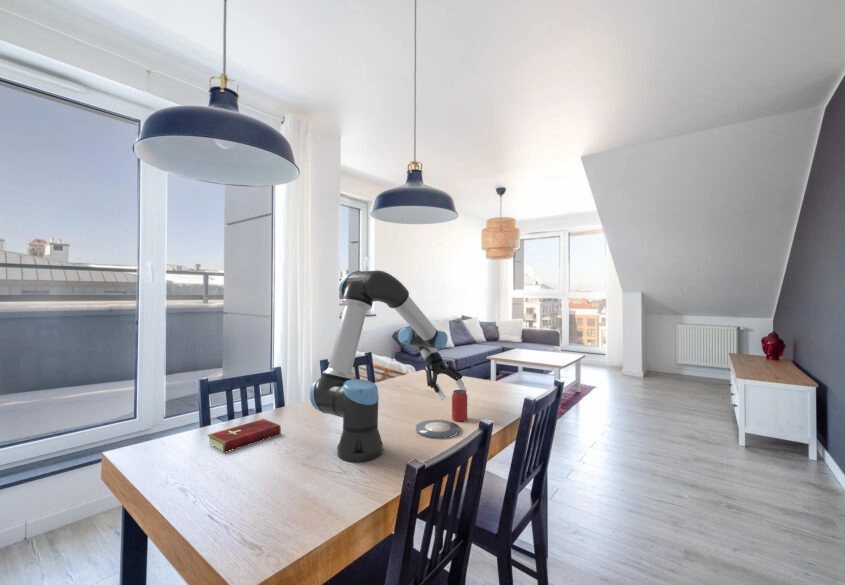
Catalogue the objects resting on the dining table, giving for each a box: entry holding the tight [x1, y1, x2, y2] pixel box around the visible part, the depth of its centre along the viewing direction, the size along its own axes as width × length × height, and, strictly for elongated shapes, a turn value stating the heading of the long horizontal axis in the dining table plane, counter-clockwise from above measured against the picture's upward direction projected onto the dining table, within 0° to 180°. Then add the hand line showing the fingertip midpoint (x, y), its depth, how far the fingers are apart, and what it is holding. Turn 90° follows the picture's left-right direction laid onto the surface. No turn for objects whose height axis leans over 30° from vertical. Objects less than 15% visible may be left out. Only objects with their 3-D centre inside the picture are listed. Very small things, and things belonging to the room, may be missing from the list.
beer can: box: [451, 389, 468, 422], centre depth 158 cm, size 7×7×12 cm
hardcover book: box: [207, 418, 282, 453], centre depth 135 cm, size 12×21×4 cm, turn 143°
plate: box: [415, 419, 460, 439], centre depth 145 cm, size 17×17×1 cm
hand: (454, 395), depth 162 cm, fingers open, 13 cm apart
